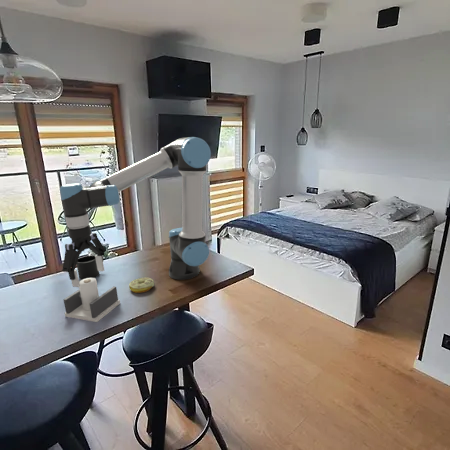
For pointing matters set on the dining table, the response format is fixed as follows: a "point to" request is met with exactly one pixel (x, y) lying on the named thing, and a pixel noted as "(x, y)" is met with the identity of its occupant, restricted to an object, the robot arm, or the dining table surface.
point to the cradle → (91, 305)
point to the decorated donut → (141, 285)
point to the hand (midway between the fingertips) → (89, 278)
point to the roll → (88, 292)
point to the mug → (87, 267)
